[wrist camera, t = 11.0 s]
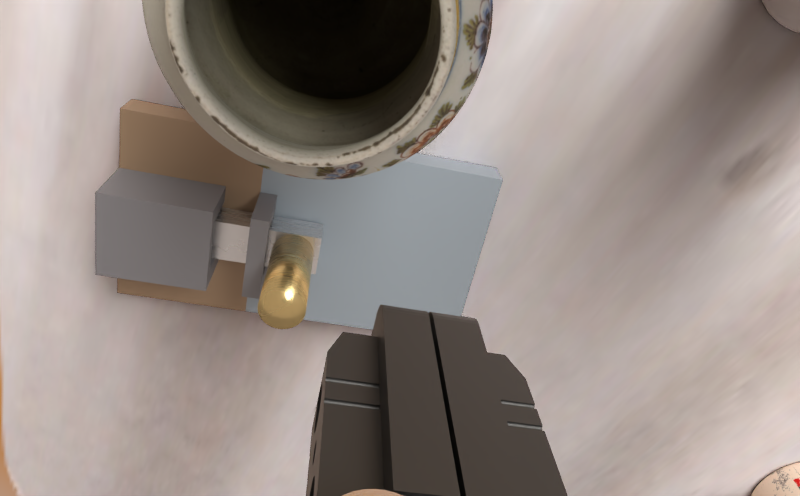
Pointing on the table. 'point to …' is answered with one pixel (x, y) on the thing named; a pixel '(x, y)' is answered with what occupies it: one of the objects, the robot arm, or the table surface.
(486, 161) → the table surface
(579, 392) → the table surface
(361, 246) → the door and jamb lock plate
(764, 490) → the teacup with lid
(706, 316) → the table surface
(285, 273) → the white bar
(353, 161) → the apothecary jar
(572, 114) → the table surface
